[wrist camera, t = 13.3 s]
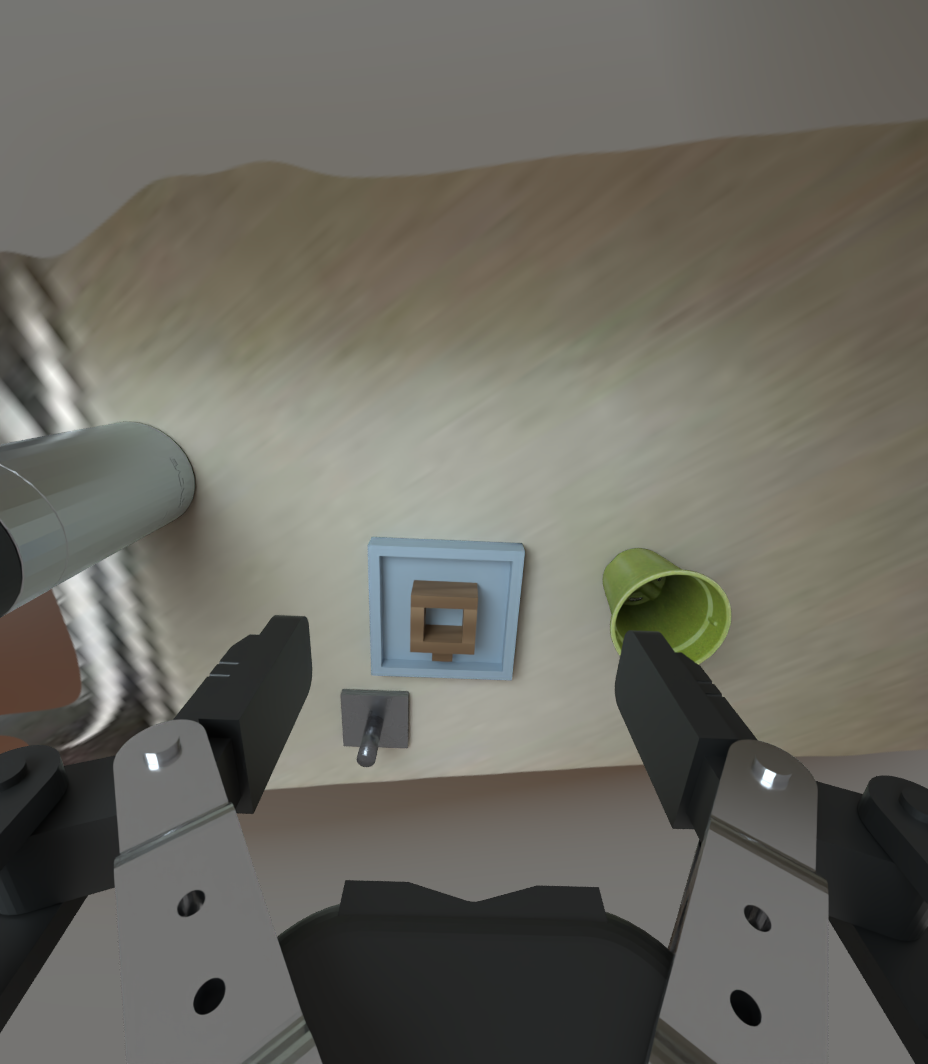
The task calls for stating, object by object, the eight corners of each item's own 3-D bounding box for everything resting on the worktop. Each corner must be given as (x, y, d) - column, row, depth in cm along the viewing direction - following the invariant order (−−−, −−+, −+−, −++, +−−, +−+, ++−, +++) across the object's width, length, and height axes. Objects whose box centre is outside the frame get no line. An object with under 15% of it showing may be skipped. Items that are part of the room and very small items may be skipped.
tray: (374, 662, 48) (371, 675, 46) (371, 536, 43) (367, 545, 41) (509, 667, 48) (511, 680, 46) (522, 543, 43) (524, 551, 41)
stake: (345, 740, 51) (331, 785, 46) (342, 689, 49) (327, 730, 44) (408, 742, 52) (402, 787, 46) (408, 691, 49) (402, 733, 44)
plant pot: (588, 625, 46) (614, 682, 38) (580, 539, 43) (607, 581, 35) (682, 611, 46) (729, 666, 38) (681, 523, 43) (733, 562, 34)
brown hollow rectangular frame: (413, 580, 44) (410, 595, 41) (477, 582, 44) (478, 598, 41) (412, 651, 47) (409, 670, 44) (472, 653, 47) (473, 672, 44)
